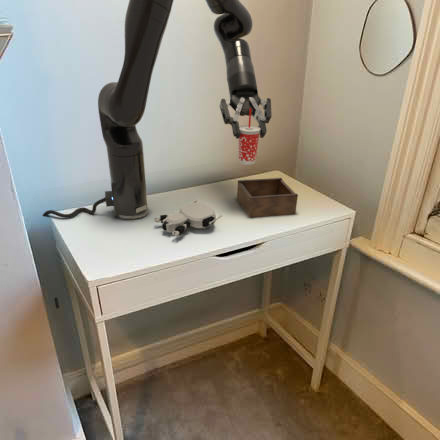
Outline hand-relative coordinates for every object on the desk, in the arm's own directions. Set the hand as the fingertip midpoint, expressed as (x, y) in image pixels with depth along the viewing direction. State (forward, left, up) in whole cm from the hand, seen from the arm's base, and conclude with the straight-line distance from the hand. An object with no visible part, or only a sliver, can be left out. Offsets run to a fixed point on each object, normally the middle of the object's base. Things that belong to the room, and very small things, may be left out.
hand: (250, 136), depth 114 cm
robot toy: (-18, -8, -21) cm, 29 cm away
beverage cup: (0, +2, -8) cm, 8 cm away
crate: (+7, +2, -21) cm, 22 cm away
